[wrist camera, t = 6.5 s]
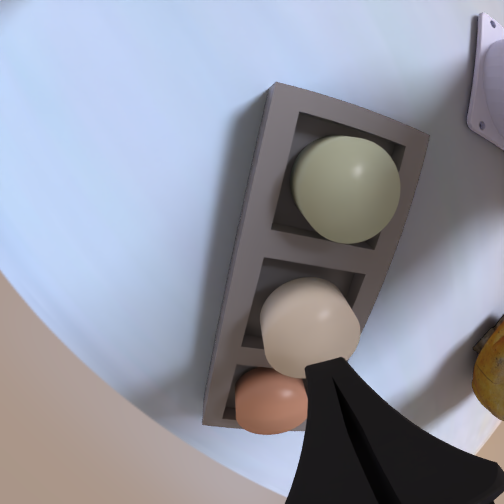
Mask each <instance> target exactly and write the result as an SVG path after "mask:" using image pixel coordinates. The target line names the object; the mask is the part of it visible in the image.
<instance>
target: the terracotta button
mask: <svg viewBox="0 0 504 504" xmlns="http://www.w3.org/2000/svg"><path fill="white" fill-rule="evenodd" d="M235 407H236V420H237V422H238V424H239V425H240V426H241V427H242V428H243V429H245V430H247V431H249V432H252V433H255V434H262V435H272V434H279V433H283V432H287V431H289V430H292V429H294V428H296V427H297V426H299V425H300V424H302V423H303V422H304V421H305V420H306V418H307V409H308V398H307V394H306V390H305V387H304V383H303V380H302V378H293V377H288V376H286V375H283V374H281V373H279V372H278V371H276V370H275V369H274V368H267V367H258V368H255V369H252V370H250V371H248V372H247V373H245V374H244V375H243V376H242V377H240V379H239V380H238V381H237V383H236V386H235Z"/></svg>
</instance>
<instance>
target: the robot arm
mask: <svg viewBox="0 0 504 504" xmlns="http://www.w3.org/2000/svg"><path fill="white" fill-rule="evenodd" d="M479 124H481V128H480V127H479ZM467 125H468V127H469V128H470V129H471V130H472V131H474V132H476V133H477V134H479V135H481V136H482V137H484V138H485V139H487V140H489V141H490V142H492V143H493V144H495V145H496V146H498V147H499V148H501V149H502V150H504V27H503V26H501V25H500V24H499V23H498V22H497V21H495V20H494V19H493V18H492V17H490V16H489V15H488V14H487V13H480V14H479V15H478V34H477V49H476V60H475V69H474V77H473V85H472V92H471V98H470V104H469V110H468V115H467ZM304 369H305V376H306V383H307V391H308V409H307V421H306V428H305V435H304V441H303V446H302V451H301V455H300V459H299V463H298V467H297V470H296V474H295V477H294V480H293V483H292V486H291V489H290V492H289V495H288V497H287V500H286V502H285V504H495V503H494V500H495V499H496V498H497V497H498V496H499V495H500V494H501V493H503V492H504V471H503V470H502V469H501V467H500V466H499V465H498V464H497V463H496V462H493V461H489V460H487V459H483V458H480V457H478V456H475V455H472V454H470V453H467V452H465V451H462V450H460V449H458V448H456V447H454V446H452V445H450V444H448V443H446V442H444V441H442V440H440V439H438V438H436V437H434V436H432V435H431V434H429V433H428V432H426V431H424V430H423V429H421V428H420V427H418V426H417V425H415V424H414V423H412V422H411V421H409V420H408V419H407V418H405V417H404V416H403V415H401V414H400V413H399V412H398V411H396V410H395V409H394V408H393V407H391V406H390V405H389V404H388V403H387V402H386V401H384V400H383V399H382V398H381V397H380V396H379V395H378V394H377V393H376V392H375V391H374V390H373V389H372V388H371V387H370V386H369V385H368V384H367V383H366V382H365V381H364V380H363V379H362V378H361V377H360V376H359V375H358V374H357V373H356V372H355V371H354V369H353V368H352V367H351V366H350V365H349V363H348V362H347V361H346V360H345V358H343V357H339V358H335V359H331V360H327V361H323V362H319V363H315V364H311V365H307V366H306V367H305V368H304Z"/></svg>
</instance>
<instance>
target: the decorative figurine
mask: <svg viewBox="0 0 504 504" xmlns="http://www.w3.org/2000/svg"><path fill="white" fill-rule="evenodd" d="M473 350H474V351H476V352H477V353H478V357H477V359H476V362H475V365H474V370H473V380H472V388H473V391H474V393H475V395H476V397H477V398H478V400H479V401H480V403H481V404H482V405H483V406H484V407H485V408H486V409H488V410H489V411H490V412H491V413H492V414H493V415H494V416H495V417H497V418H498V419H500V420H502V421H504V316H503V317H502V318H501V319H500V321H499V322H498V323H497V325H496V326H495V327H494V328H491V329H490V330H489V331H488V332H487V334H485V336H484V337H483V338H482V339H481V340H480V342H478V343H477V345H476V346H475V347H473Z"/></svg>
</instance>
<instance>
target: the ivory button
mask: <svg viewBox="0 0 504 504" xmlns="http://www.w3.org/2000/svg"><path fill="white" fill-rule="evenodd" d="M260 325H261V332H262V338H263V344H264V351H265V355H266V359H267V361H268V362H269V364H270V365H271V366H272V367H273V368H274V369H275V370H276V371H278V372H279V373H281V374H283V375H286V376H288V377H293V378H306V376H305V369H304V368H305V367H306V366H307V365H311V364H315V363H319V362H323V361H327V360H331V359H335V358H339V357H343V358H345V360H346V361H347V360H348V359H349V358H350V357H351V355H352V354H353V353H354V351H355V349H356V348H357V345H358V343H359V339H360V333H361V332H360V324H359V321H358V319H357V317H356V316H355V314H354V312H353V311H352V309H351V307H350V306H349V304H348V302H347V301H346V299H345V297H344V296H343V294H342V293H341V291H340V290H339V289H338V288H337V287H336V286H335V285H334V284H333V283H331V282H329V281H327V280H324V279H321V278H316V277H304V278H298V279H294V280H291V281H289V282H287V283H285V284H283V285H281V286H280V287H278V288H277V289H276V290H274V291H273V292H272V293H271V294H270V295H269V297H268V298H267V299H266V301H265V303H264V304H263V307H262V309H261V313H260Z"/></svg>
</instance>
